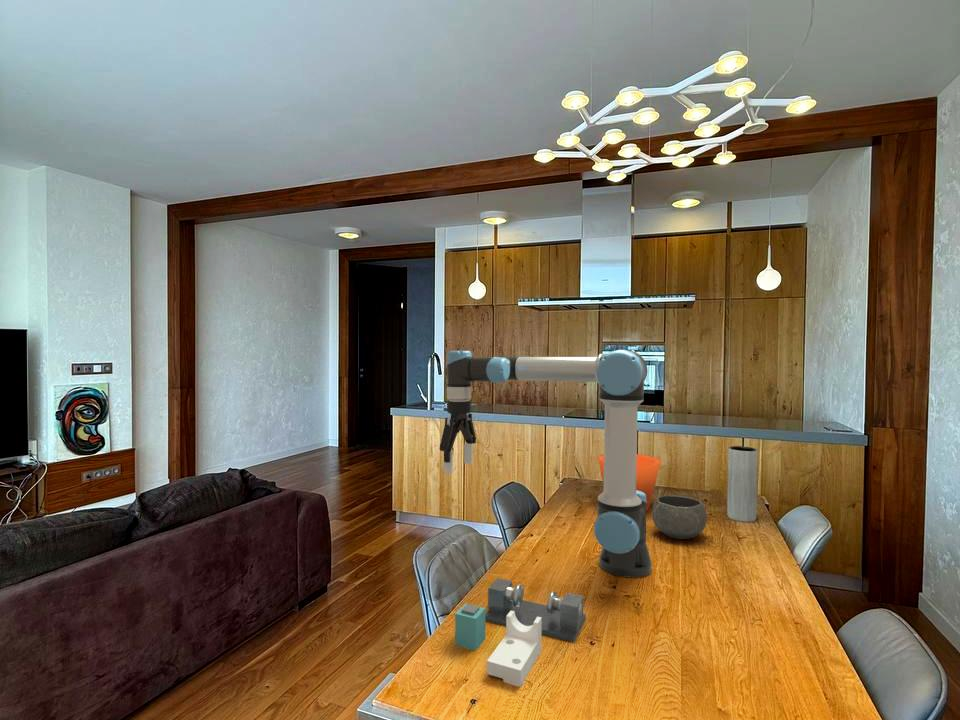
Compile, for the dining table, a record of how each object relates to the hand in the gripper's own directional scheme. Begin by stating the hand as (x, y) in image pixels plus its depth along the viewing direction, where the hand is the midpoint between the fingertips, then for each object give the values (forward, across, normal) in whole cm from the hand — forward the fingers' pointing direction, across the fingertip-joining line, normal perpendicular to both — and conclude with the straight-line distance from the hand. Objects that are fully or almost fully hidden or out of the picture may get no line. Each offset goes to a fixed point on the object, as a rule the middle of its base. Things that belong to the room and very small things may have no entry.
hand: (458, 468), depth 160 cm
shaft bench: (+28, +26, +34) cm, 51 cm away
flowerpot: (+28, -76, +40) cm, 90 cm away
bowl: (+28, -49, +61) cm, 83 cm away
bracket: (+28, +44, +36) cm, 63 cm away
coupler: (+28, +41, +24) cm, 55 cm away
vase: (+28, -80, +82) cm, 118 cm away
